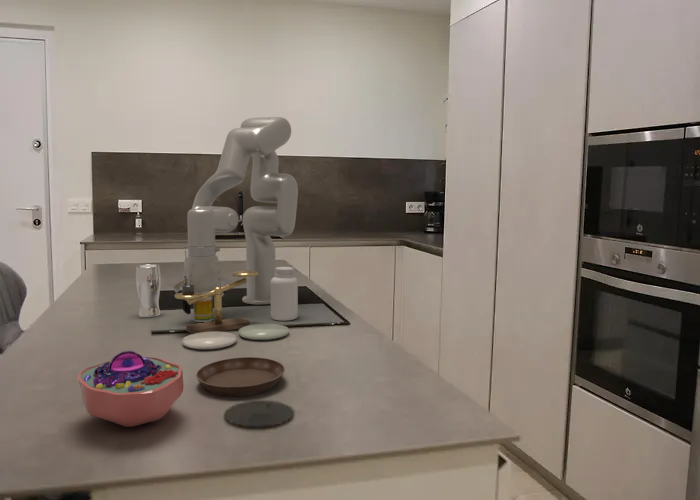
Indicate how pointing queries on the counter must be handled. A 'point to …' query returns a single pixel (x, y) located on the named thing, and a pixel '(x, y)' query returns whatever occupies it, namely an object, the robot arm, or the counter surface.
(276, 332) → the pale green dish
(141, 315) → the beer glass
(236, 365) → the plant saucer
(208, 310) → the supplement bottle
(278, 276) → the pill bottle
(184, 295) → the brass balance
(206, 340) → the cream dish
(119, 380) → the cell model
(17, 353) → the counter surface
